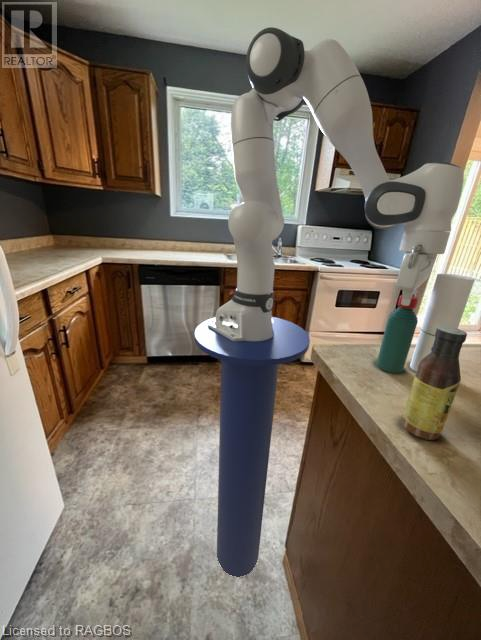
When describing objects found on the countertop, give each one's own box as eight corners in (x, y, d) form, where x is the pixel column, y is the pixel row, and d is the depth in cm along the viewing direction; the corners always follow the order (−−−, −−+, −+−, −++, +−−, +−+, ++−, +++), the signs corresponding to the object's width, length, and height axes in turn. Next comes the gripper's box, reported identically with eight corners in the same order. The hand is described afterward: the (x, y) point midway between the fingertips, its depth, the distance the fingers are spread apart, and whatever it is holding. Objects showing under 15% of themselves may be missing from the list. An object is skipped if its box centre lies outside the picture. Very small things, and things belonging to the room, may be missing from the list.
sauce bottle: (442, 447, 46) (482, 342, 40) (400, 433, 49) (432, 332, 42) (437, 424, 52) (472, 328, 45) (400, 413, 55) (428, 321, 48)
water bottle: (373, 366, 72) (390, 298, 65) (379, 358, 77) (396, 294, 70) (400, 376, 68) (421, 304, 62) (405, 366, 73) (425, 299, 66)
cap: (416, 306, 67) (419, 297, 66) (414, 309, 64) (416, 300, 63) (399, 303, 69) (401, 293, 68) (396, 306, 66) (398, 296, 65)
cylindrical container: (443, 380, 68) (478, 281, 59) (410, 371, 71) (439, 276, 62) (439, 367, 73) (471, 276, 65) (409, 360, 77) (435, 272, 68)
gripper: (433, 247, 52) (414, 315, 57) (444, 244, 67) (428, 298, 72) (397, 244, 56) (382, 308, 61) (414, 242, 71) (401, 293, 75)
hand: (407, 302), depth 66 cm, fingers closed on cap, 4 cm apart
